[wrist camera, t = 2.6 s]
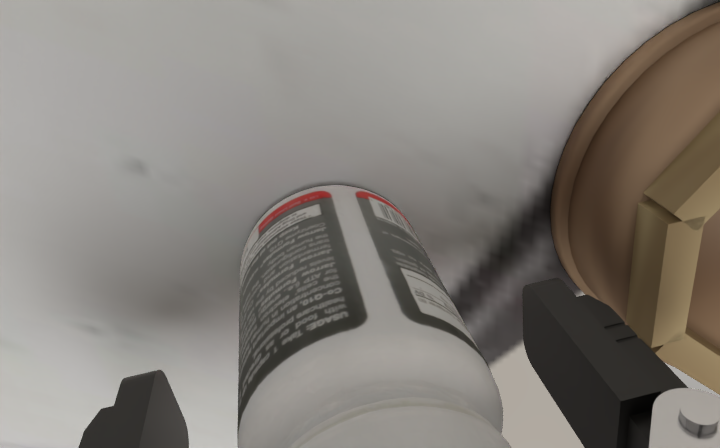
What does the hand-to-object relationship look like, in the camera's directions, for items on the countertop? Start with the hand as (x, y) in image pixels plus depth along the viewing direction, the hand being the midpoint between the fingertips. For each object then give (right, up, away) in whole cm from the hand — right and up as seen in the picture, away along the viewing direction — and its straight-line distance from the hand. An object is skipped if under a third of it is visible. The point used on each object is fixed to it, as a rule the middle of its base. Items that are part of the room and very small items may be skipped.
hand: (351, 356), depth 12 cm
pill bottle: (-1, +2, +3) cm, 4 cm away
